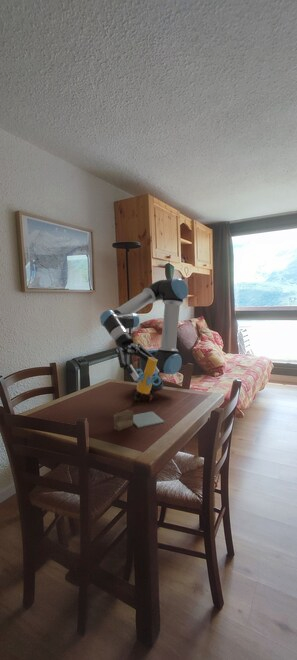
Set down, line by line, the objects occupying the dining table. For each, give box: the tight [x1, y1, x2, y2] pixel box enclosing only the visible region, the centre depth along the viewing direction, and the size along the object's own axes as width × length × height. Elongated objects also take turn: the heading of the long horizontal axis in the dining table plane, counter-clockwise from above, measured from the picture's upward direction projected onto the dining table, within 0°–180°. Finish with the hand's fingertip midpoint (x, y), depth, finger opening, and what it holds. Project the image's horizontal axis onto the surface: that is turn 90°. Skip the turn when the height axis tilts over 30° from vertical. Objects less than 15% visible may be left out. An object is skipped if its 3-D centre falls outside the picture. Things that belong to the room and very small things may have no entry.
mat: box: [133, 411, 165, 429], centre depth 131 cm, size 12×13×1 cm
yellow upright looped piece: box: [135, 357, 162, 395], centre depth 127 cm, size 12×10×15 cm
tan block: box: [113, 409, 135, 432], centre depth 124 cm, size 3×8×6 cm, turn 137°
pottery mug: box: [133, 390, 154, 402], centre depth 157 cm, size 12×10×8 cm
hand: (147, 376), depth 127 cm, fingers closed on yellow upright looped piece, 12 cm apart
